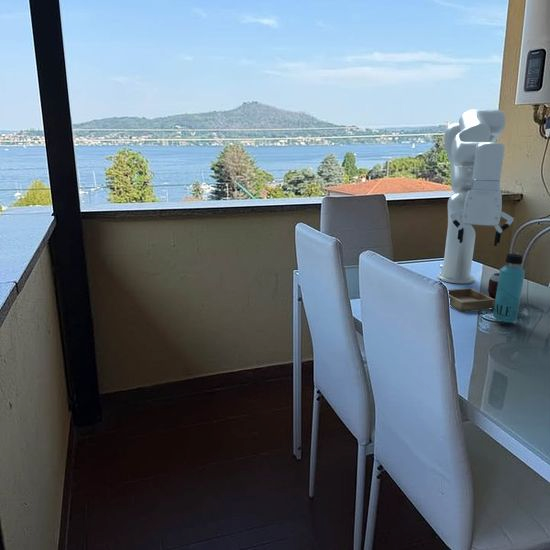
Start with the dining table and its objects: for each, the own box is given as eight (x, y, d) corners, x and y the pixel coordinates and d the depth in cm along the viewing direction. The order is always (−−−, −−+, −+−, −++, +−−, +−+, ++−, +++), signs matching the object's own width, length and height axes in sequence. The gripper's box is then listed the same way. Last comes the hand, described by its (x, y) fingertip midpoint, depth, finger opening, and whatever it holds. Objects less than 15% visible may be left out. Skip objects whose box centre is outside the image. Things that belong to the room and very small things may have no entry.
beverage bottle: (515, 320, 132) (526, 252, 127) (518, 329, 126) (530, 258, 121) (490, 317, 134) (500, 250, 129) (492, 325, 128) (503, 256, 123)
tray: (438, 299, 149) (439, 290, 148) (469, 296, 152) (471, 287, 151) (460, 312, 138) (461, 302, 137) (493, 308, 141) (495, 299, 140)
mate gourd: (486, 300, 148) (492, 255, 144) (487, 293, 155) (493, 250, 151) (512, 304, 145) (519, 258, 141) (511, 296, 152) (518, 252, 148)
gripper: (452, 185, 135) (446, 243, 140) (518, 188, 128) (509, 248, 132) (455, 184, 142) (449, 239, 146) (518, 186, 134) (509, 244, 139)
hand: (477, 243), depth 139 cm, fingers open, 9 cm apart
